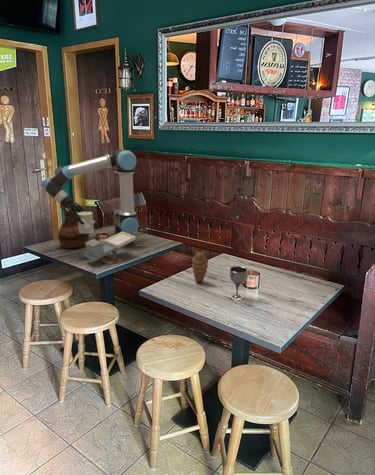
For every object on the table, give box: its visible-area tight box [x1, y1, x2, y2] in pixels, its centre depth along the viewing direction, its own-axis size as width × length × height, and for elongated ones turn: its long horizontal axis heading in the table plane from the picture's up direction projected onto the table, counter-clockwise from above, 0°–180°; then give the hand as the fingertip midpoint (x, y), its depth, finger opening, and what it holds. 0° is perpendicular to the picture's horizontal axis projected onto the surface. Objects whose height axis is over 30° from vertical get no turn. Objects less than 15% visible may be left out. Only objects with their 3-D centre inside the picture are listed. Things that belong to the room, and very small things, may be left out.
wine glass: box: [229, 265, 248, 299], centre depth 183 cm, size 8×8×15 cm
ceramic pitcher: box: [57, 202, 90, 249], centre depth 253 cm, size 20×20×30 cm
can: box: [77, 211, 95, 234], centre depth 229 cm, size 9×9×12 cm
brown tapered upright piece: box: [191, 250, 209, 284], centre depth 199 cm, size 9×8×18 cm
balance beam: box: [84, 232, 137, 262], centre depth 229 cm, size 30×14×8 cm, turn 134°
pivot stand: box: [96, 244, 124, 266], centre depth 231 cm, size 10×15×8 cm, turn 44°
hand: (91, 225), depth 229 cm, fingers closed on can, 9 cm apart
